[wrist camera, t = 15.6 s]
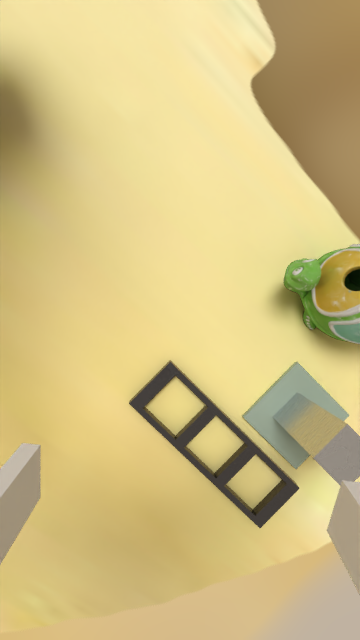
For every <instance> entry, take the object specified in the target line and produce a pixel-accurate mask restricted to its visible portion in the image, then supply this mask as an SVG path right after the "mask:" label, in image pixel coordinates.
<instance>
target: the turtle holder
mask: <svg viewBox="0 0 360 640" xmlns="http://www.w3.org/2000/svg"><path fill="white" fill-rule="evenodd" d="M284 285H285V287H286V288H287V289H289V290H291V291H293V292H296V293H298V294H299V296H300V298H301V301H302V304H303V306H304V309H305V311H304V314H303V320H304V323H305V324H306V326H307V327H308V328H310V329H315V328H316V327H317V328H318V329H320V330H321V331H322V332H324V333H325V334H327V335H329V336H331V337H333V338H335V339H338V340H342V341H348V342H352V343H356V344H360V244H353V245H351V246H350V247H349V248H346V249H340V250H335V251H332V252H330V253H327V254H325V255H323V256H322V257H321V258H319V259H318V260H317V259H302V260H296V261H294V262H292V263H291V264H290V265H289V266H288V267H287V269H286V273H285V277H284Z"/></svg>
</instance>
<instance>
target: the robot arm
mask: <svg viewBox="0 0 360 640" xmlns="http://www.w3.org/2000/svg"><path fill="white" fill-rule="evenodd" d="M39 499H40V445H36V444H27V443H22V444H21V445H20V447H19V448H18V449H17V450H16V451H15V452H14V454H13V455H12V456H11V457H10V458H9V459H8V461H7V462H6V463H5V464H4V465H3V466H2V467H1V469H0V564H1V562H2V561H3V559H4V557H5V556H6V554H7V552H8V551H9V549H10V547H11V546H12V544H13V542H14V541H15V539H16V537H17V536H18V534H19V532H20V531H21V529H22V527H23V526H24V524H25V522H26V521H27V519H28V517H29V516H30V514H31V512H32V510H33V509H34V507H35V505H36V504H37V502H38V500H39ZM327 532H328V534H329V536H330V538H331V540H332V542H333V544H334V545H335V547H336V549H337V551H338V553H339V555H340V557H341V559H342V561H343V563H344V565H345V567H346V569H347V571H348V573H349V575H350V577H351V579H352V581H353V583H354V585H355V587H356V589H357V591H358V593H359V595H360V482H352V481H343V480H342V483H341V486H340V489H339V493H338V496H337V499H336V502H335V506H334V509H333V512H332V515H331V519H330V522H329V525H328V528H327Z"/></svg>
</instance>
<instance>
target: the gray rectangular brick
mask: <svg viewBox="0 0 360 640" xmlns="http://www.w3.org/2000/svg"><path fill="white" fill-rule="evenodd" d="M273 418H274V419H275V420H276V421H277V422H278V423H279V424H280V425H281V426H282V427H283V428H284V429H285V430H286V431H287V432H288V433H289V434H290V435H291V436H292V437H293V438H294V439H295V440H296V441H297V442H298V443H299V444H300V445H301V446H302V447H303V448H304V449H305V450H306V451H307V452H308V453H309V454H310V455H311V456H312V457H313V458H314V459H315V460H316V461H317V462H318V463H319V464H320V465H321V466H322V467H323V468H324V469H325V470H326V471H327V472H328V473H329V475H330V476H331V477H332V478H333V479H334V480H335V481H336V482H337V483H338V484H339V485H340V486H341V483H342V480H343V481H352V482H354V481H355V480H356V479H357V478H358V477H359V476H360V436H359V435H358V434H357V433H356V432H355V431H354V430H353V429H352V428H351V427H350V426H349V425H348V424H347V423H345V422H344V421H342V420H341V419H339V418H337V417H336V416H334V415H333V414H331V413H330V412H328V411H326V410H325V409H323V408H322V407H320V406H319V405H317V404H315V403H314V402H312V401H311V400H309V399H307V398H306V397H304V396H303V395H301V394H300V393H298V392H297V393H296V394H295V395H294V396H293V397H292V398H291V399H290V400H289V401H288V402H287V403H286V404H285V405H284V406H283V407H282V408H281V409H280V410H279V411H278V412H277V413H276V414H275V415H274V416H273Z"/></svg>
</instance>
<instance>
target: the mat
mask: <svg viewBox="0 0 360 640" xmlns="http://www.w3.org/2000/svg"><path fill="white" fill-rule="evenodd" d="M297 392H298V393H300V394H301V395H303V396H304V397H306V398H307V399H309V400H311V401H312V402H314V403H315V404H317V405H319V406H320V407H322V408H323V409H325V410H326V411H328V412H330V413H331V414H333V415H334V416H336V417H337V418H339V419H341V420H342V421H344V420H345V419H346V418H347V417H348V416H349V414H348V413H347V412H346V411H345V410H344V409H343V408H342V407H341V406H340V405H339V404H338V403H337V402H336V401H335V400H334V399H333V398H332V397H331V396H330V395H329V394H328V393H327V392H326V391H325V390H324V389H323V388H322V387H321V386H320V385H319V384H318V383H317V382H316V381H315V380H314V379H313V378H312V377H311V376H310V374H309V373H308V372H307V371H306V370H305V369H304V368H303V367H302V366H301V365H300V364H299V363H298V362H295V363H294V364H293V365H292V366H291V367H290V368H289V369H288V370H287V371H286V372H285V373H284V374H283V375H282V376H281V377H280V378H279V379H278V380H277V381H276V382H275V383H274V384H273V385H272V386H271V387H270V388H269V389H268V390H267V391H266V392H265V393H264V394H263V395H262V396H261V397H260V398H259V399H258V400H257V401H256V402H255V403H254V404H253V405H252V406H251V408H250V409H249V410H248V411H247V412H246V413H245V414H244V415H243V418H244V419H245V420H246V421H247V422H248V423H249V424H250V425H251V426H252V427H253V428H254V429H256V430H257V431H258V432H259V433H260V434H261V435H262V436H263V437H264V438H265V439H266V440H267V441H268V442H269V443H270V444H271V445H272V446H273V447H274V448H275V449H276V450H277V451H278V452H279V453H280V454H281V455H282V456H283V457H284V458H285V459H286V460H287V461H288V462H289V463H290V464H291V465H292V466H293V467H294V468H295V469H297V468H298V467H299V466H300V465H301V464H302V463H303V462H304V461H305V460H306V459H307V458H308V457H309V456H310V454H309V453H308V452H307V451H306V450H305V449H304V448H303V447H302V446H301V445H300V444H299V443H298V442H297V441H296V440H295V439H294V438H293V437H292V436H291V435H290V434H289V433H288V432H287V431H286V430H285V429H284V428H283V427H282V426H281V425H280V424H279V423H278V422H277V421H276V420H275V419H274V418H273V416H274V415H275V414H276V413H277V412H278V411H279V410H280V409H281V408H282V407H283V406H284V405H285V404H286V403H287V402H288V401H289V400H290V399H291V398H292V397H293V396H294V395H295V394H296V393H297Z"/></svg>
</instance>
